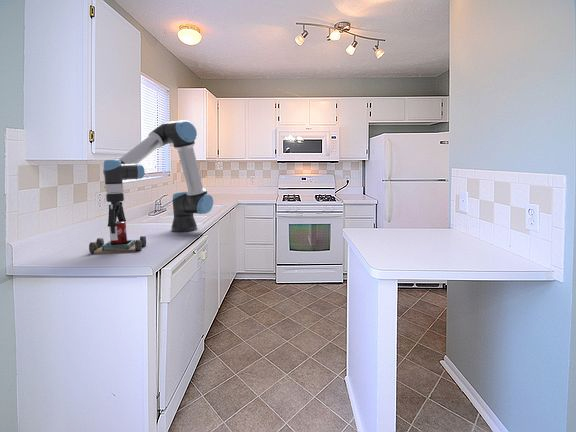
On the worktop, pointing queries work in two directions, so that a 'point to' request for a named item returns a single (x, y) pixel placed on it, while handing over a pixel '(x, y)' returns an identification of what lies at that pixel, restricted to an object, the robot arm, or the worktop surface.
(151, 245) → the worktop surface
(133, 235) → the worktop surface
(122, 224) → the soda can
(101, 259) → the worktop surface
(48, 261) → the worktop surface
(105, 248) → the chassis
